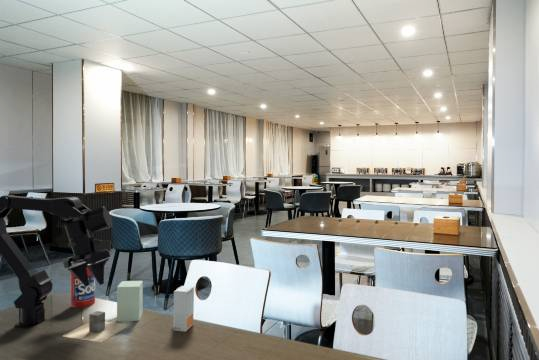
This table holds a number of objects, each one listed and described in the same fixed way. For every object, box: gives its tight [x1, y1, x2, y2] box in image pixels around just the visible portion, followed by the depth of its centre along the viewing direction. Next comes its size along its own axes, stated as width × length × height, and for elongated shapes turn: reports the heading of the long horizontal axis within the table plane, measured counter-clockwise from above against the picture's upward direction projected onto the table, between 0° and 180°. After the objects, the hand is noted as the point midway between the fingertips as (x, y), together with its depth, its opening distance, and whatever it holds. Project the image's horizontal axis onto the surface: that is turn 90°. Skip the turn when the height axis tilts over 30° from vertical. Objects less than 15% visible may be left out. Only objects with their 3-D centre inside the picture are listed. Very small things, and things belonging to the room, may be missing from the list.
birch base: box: [61, 310, 130, 343], centre depth 118 cm, size 13×13×6 cm
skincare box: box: [172, 285, 195, 332], centre depth 123 cm, size 6×4×12 cm
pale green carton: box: [116, 280, 144, 322], centre depth 129 cm, size 7×7×11 cm
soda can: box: [69, 262, 96, 309], centre depth 141 cm, size 8×8×15 cm
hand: (94, 285), depth 125 cm, fingers open, 9 cm apart
